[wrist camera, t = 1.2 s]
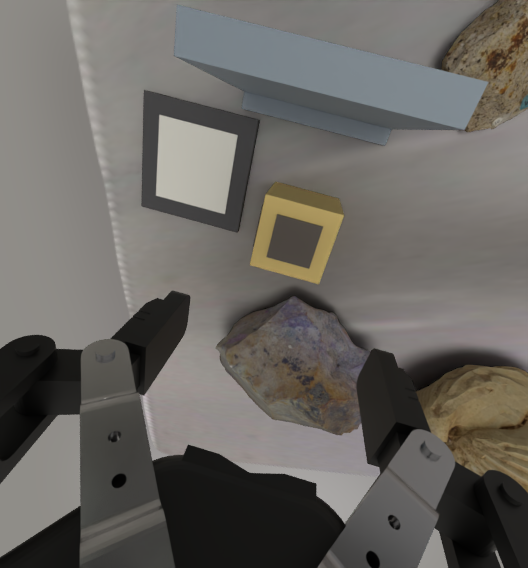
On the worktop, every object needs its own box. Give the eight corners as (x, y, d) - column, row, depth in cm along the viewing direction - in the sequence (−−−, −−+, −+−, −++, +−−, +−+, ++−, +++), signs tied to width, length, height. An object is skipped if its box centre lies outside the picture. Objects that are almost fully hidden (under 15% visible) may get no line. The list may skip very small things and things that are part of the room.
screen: (253, 50, 23) (179, -39, 11) (405, 88, 23) (509, 40, 10) (243, 109, 25) (171, 90, 13) (383, 145, 24) (448, 161, 12)
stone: (409, 372, 20) (373, 494, 27) (397, 298, 29) (372, 405, 36) (182, 327, 25) (200, 441, 32) (231, 275, 34) (237, 373, 41)
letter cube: (273, 180, 27) (262, 194, 22) (338, 198, 27) (344, 216, 22) (259, 240, 30) (247, 265, 25) (318, 257, 30) (318, 285, 25)
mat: (147, 90, 25) (143, 90, 25) (259, 120, 25) (258, 120, 24) (144, 204, 30) (140, 206, 30) (238, 230, 30) (236, 232, 29)
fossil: (459, 314, 30) (568, 455, 17) (575, 397, 33) (748, 578, 20) (358, 392, 37) (379, 535, 24) (459, 457, 40) (529, 618, 27)
